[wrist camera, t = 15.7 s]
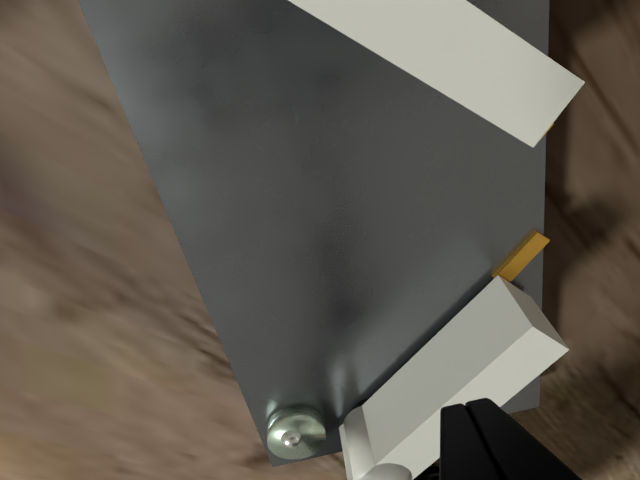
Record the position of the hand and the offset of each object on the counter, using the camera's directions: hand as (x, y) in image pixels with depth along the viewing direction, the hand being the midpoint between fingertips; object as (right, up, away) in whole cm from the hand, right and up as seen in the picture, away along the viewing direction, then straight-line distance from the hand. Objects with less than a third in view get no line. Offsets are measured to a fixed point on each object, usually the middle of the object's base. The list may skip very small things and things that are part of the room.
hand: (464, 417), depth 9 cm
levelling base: (-1, +4, +12) cm, 12 cm away
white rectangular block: (+2, -2, +14) cm, 14 cm away
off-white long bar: (-1, +10, +6) cm, 11 cm away
